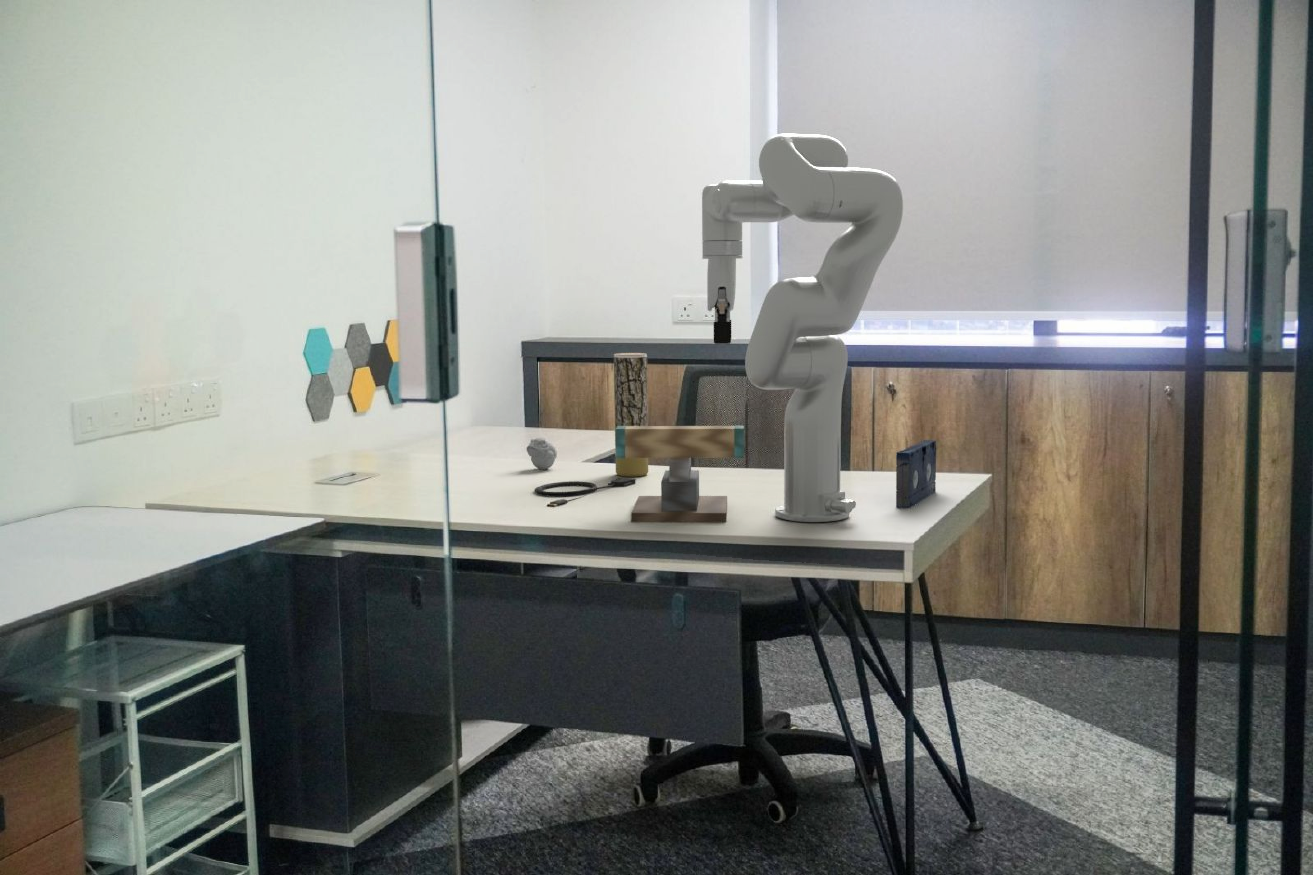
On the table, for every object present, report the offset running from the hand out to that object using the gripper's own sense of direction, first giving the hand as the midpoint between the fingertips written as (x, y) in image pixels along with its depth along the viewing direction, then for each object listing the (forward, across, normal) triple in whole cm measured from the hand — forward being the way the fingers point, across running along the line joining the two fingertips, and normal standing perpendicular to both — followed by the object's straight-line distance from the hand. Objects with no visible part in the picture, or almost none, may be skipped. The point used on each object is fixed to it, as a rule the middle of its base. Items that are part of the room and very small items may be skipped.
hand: (722, 341), depth 241 cm
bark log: (+28, -16, -19) cm, 38 cm away
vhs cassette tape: (+29, +11, +35) cm, 47 cm away
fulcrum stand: (+28, +24, -7) cm, 38 cm away
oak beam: (+18, +24, -7) cm, 31 cm away
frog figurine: (+28, -23, -39) cm, 54 cm away
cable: (+29, +3, -30) cm, 42 cm away
